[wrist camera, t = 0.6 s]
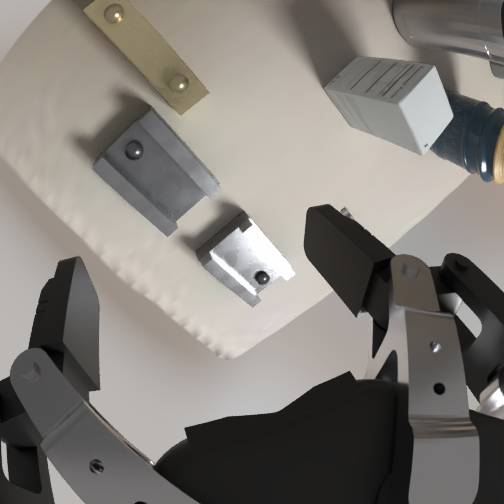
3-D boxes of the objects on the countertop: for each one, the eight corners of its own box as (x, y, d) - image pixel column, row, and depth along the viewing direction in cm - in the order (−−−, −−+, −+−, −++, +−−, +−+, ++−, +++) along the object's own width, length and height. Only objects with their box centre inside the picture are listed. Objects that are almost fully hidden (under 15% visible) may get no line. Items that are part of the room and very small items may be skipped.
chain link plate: (117, 0, 17) (112, -18, 13) (198, 90, 26) (212, 93, 22) (91, 20, 18) (80, 7, 13) (174, 110, 27) (182, 116, 22)
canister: (415, 113, 37) (510, 153, 23) (450, 77, 35) (536, 106, 21) (432, 168, 45) (508, 214, 31) (464, 130, 43) (535, 166, 29)
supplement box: (381, 95, 33) (455, 118, 24) (350, 128, 35) (422, 159, 25) (356, 54, 29) (436, 63, 19) (320, 86, 30) (398, 104, 20)
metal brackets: (151, 105, 25) (152, 109, 23) (285, 258, 43) (296, 272, 41) (95, 160, 26) (90, 170, 23) (243, 292, 44) (251, 308, 41)
